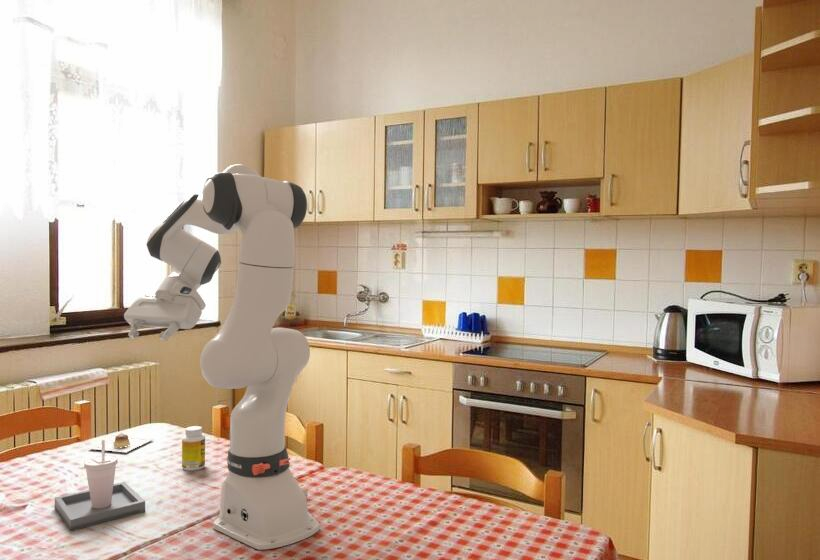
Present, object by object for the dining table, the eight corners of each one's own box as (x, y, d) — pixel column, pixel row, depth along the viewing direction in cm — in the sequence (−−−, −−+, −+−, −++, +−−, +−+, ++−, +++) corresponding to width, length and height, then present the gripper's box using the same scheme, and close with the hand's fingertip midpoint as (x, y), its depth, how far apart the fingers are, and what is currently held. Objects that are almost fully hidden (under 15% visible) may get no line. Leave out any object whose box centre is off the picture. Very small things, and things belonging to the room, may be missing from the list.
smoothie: (103, 512, 123) (103, 445, 122) (77, 509, 124) (76, 443, 123) (124, 500, 129) (124, 436, 128) (99, 497, 130) (98, 434, 130)
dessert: (117, 439, 175) (117, 423, 175) (153, 442, 172) (153, 426, 172) (87, 452, 163) (87, 435, 163) (126, 456, 161) (126, 438, 161)
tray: (145, 511, 125) (145, 501, 125) (70, 531, 116) (70, 520, 116) (124, 491, 136) (124, 481, 136) (54, 507, 126) (54, 497, 126)
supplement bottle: (203, 470, 149) (203, 430, 149) (180, 472, 148) (180, 431, 148) (206, 463, 155) (206, 424, 154) (183, 464, 154) (183, 425, 153)
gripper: (135, 287, 158) (106, 327, 149) (200, 289, 152) (174, 332, 143) (148, 302, 162) (120, 343, 153) (211, 306, 156) (186, 348, 147)
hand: (146, 338), depth 148 cm, fingers open, 8 cm apart
